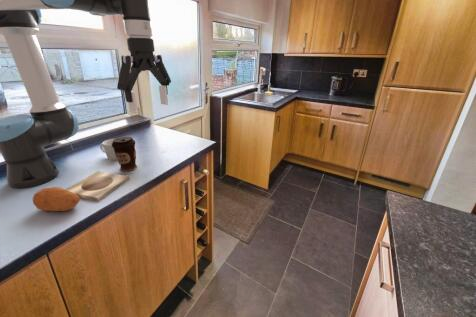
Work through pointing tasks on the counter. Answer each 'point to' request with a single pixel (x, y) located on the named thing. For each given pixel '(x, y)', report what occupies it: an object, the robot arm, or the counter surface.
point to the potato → (55, 199)
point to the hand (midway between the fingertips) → (150, 108)
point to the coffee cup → (125, 152)
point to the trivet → (97, 185)
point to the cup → (108, 149)
